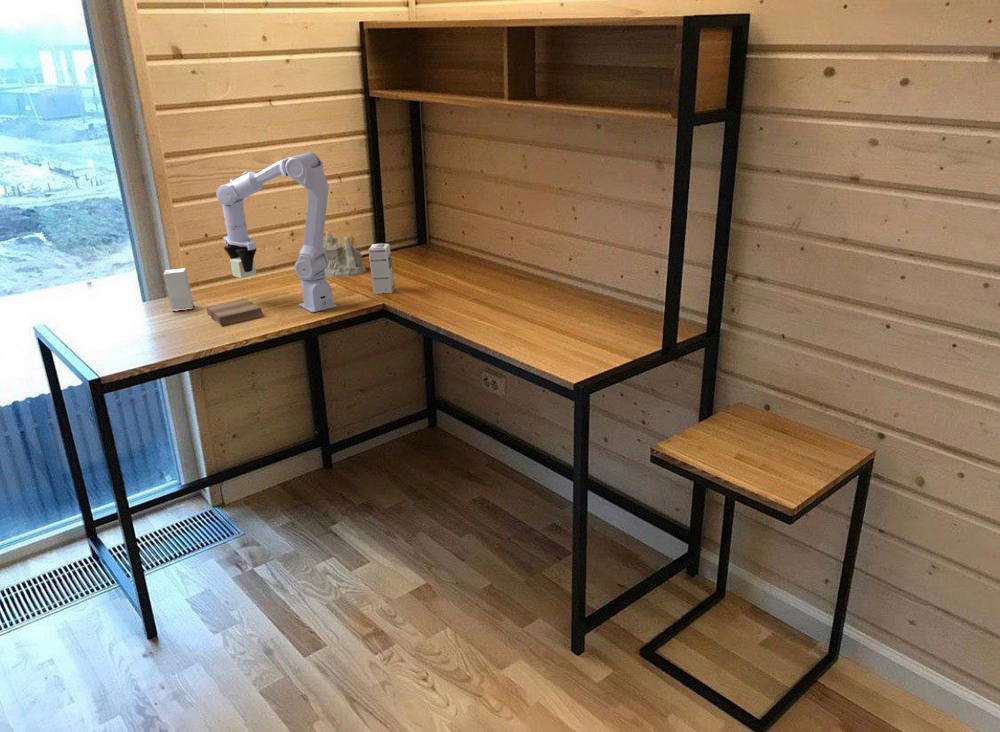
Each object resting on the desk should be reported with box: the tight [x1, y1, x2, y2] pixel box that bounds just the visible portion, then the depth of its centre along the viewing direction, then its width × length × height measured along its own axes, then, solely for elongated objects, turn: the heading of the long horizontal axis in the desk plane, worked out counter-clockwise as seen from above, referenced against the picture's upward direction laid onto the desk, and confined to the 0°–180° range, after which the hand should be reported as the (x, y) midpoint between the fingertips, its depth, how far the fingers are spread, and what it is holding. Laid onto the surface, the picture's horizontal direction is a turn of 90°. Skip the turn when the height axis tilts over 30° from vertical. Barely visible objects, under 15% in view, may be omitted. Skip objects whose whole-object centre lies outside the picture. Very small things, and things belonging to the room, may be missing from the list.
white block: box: [229, 257, 257, 279], centre depth 237 cm, size 5×5×5 cm
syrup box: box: [368, 242, 395, 295], centre depth 245 cm, size 6×6×14 cm
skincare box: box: [162, 267, 195, 310], centre depth 236 cm, size 6×4×12 cm
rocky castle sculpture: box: [322, 231, 367, 278], centre depth 269 cm, size 16×16×15 cm
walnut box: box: [206, 298, 263, 326], centre depth 231 cm, size 12×12×3 cm
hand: (243, 269), depth 238 cm, fingers closed on white block, 5 cm apart
